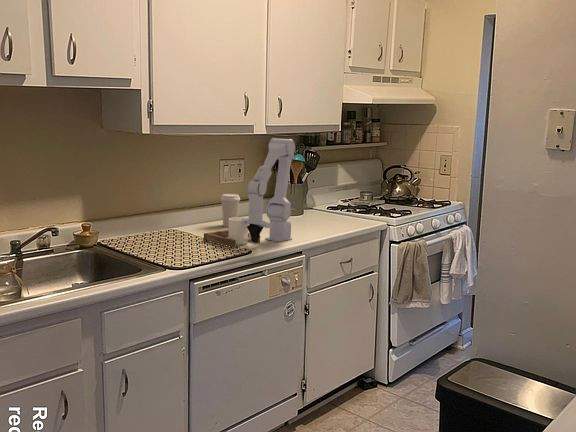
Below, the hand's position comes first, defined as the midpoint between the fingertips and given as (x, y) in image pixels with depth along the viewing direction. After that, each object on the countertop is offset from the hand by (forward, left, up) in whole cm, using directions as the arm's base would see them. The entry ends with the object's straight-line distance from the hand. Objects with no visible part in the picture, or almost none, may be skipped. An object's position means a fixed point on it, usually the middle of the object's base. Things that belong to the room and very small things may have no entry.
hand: (254, 242), depth 240 cm
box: (0, -14, -2) cm, 14 cm away
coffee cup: (-23, -40, -2) cm, 46 cm away
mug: (0, -8, -2) cm, 8 cm away
